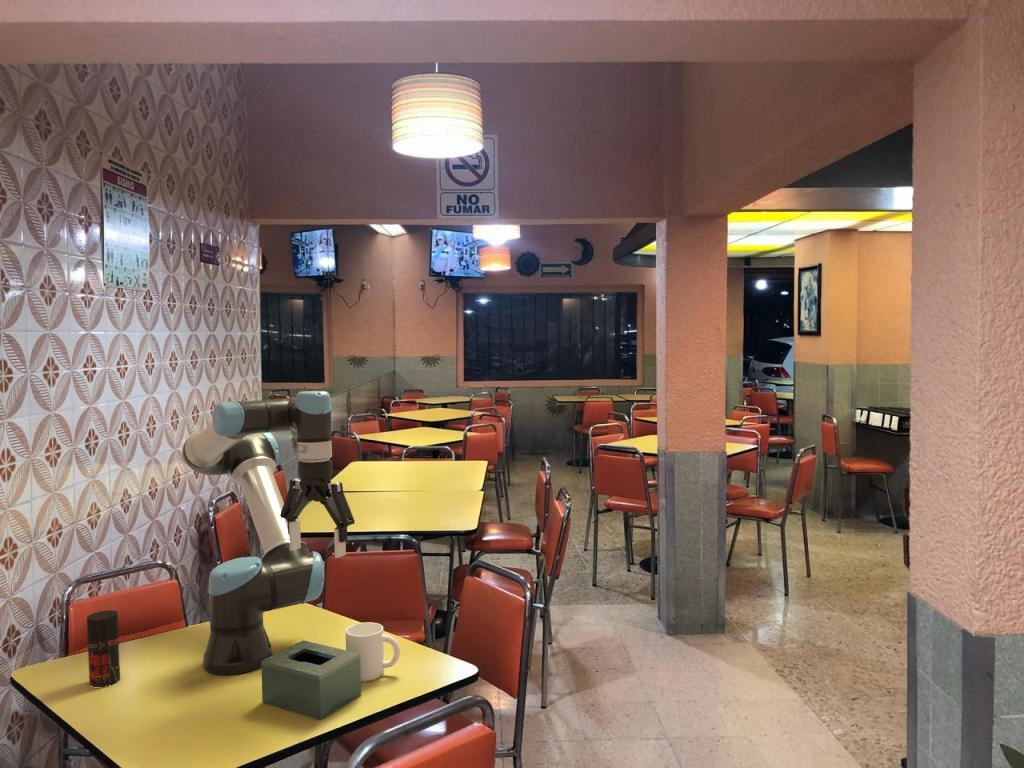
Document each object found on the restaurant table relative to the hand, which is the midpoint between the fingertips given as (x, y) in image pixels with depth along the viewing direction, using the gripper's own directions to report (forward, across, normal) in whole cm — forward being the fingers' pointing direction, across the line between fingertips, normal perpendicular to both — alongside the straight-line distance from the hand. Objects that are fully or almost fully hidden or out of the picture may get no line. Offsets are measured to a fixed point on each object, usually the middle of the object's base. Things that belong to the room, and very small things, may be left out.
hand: (317, 552), depth 167 cm
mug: (+27, +13, +3) cm, 30 cm away
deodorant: (+27, -38, -27) cm, 54 cm away
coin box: (+27, +9, -12) cm, 31 cm away
